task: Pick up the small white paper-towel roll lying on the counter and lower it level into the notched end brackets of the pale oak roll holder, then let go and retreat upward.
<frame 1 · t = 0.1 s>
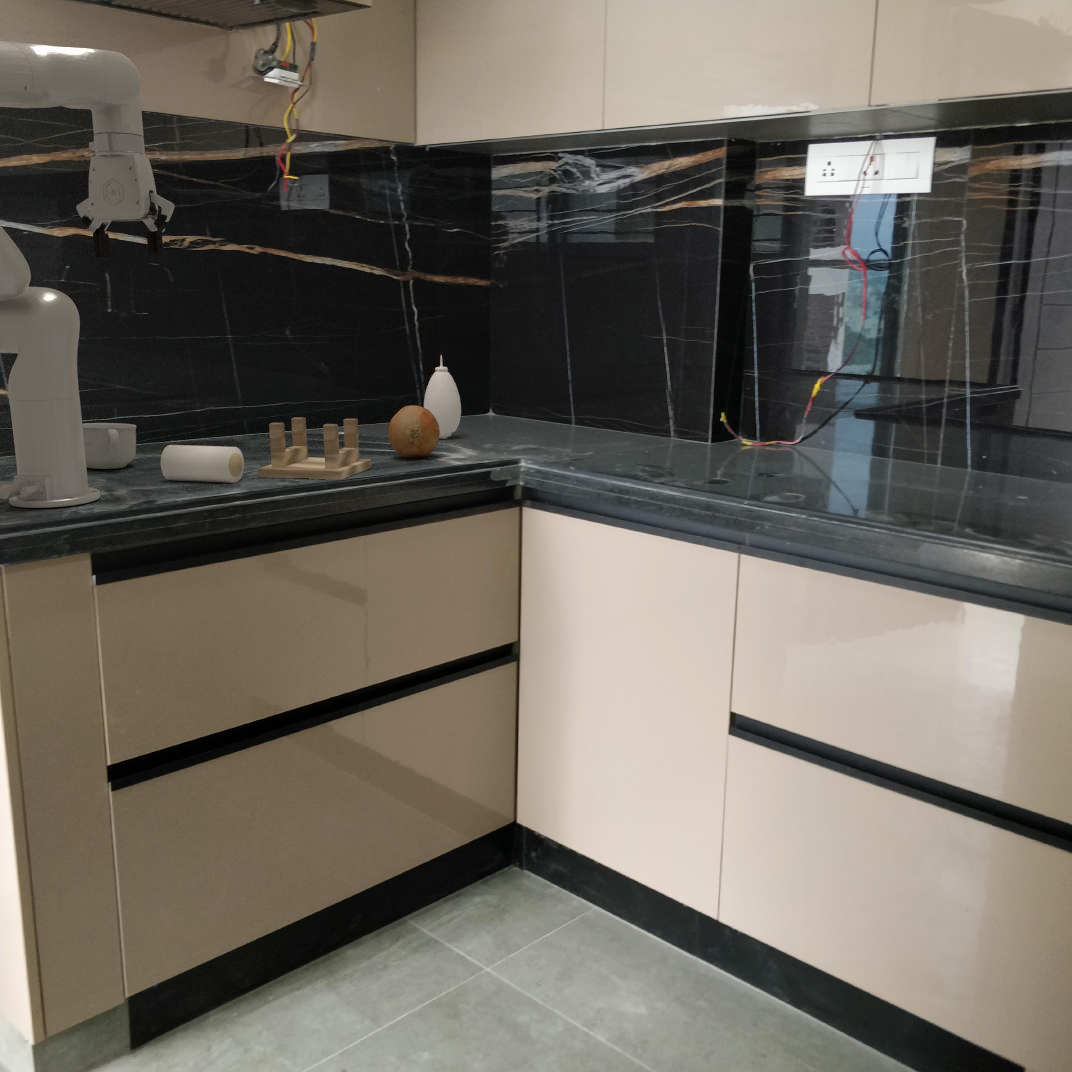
hand: (129, 257, 176), 37 cm above the counter, tool pointing down, fingers open, 9 cm apart
teacup: (108, 469, 193), on the counter
onion: (414, 459, 204), on the counter
roll holder: (316, 472, 188), on the counter
towel roll: (202, 463, 179), point 3 cm above the counter
sauce bottle: (443, 439, 232), on the counter
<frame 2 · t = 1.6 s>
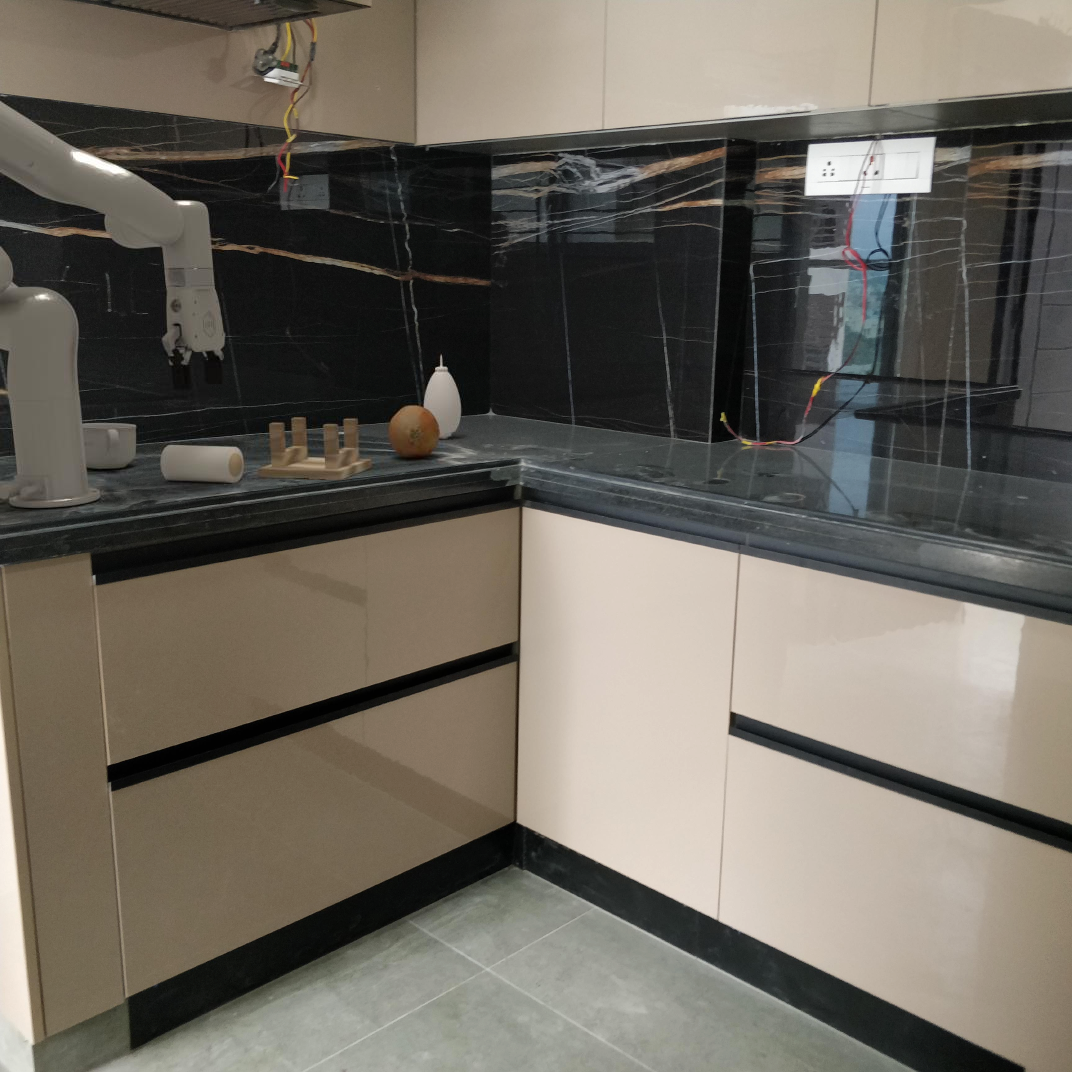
hand: (199, 386, 177), 16 cm above the counter, tool pointing down, fingers open, 9 cm apart
nothing on the counter moved.
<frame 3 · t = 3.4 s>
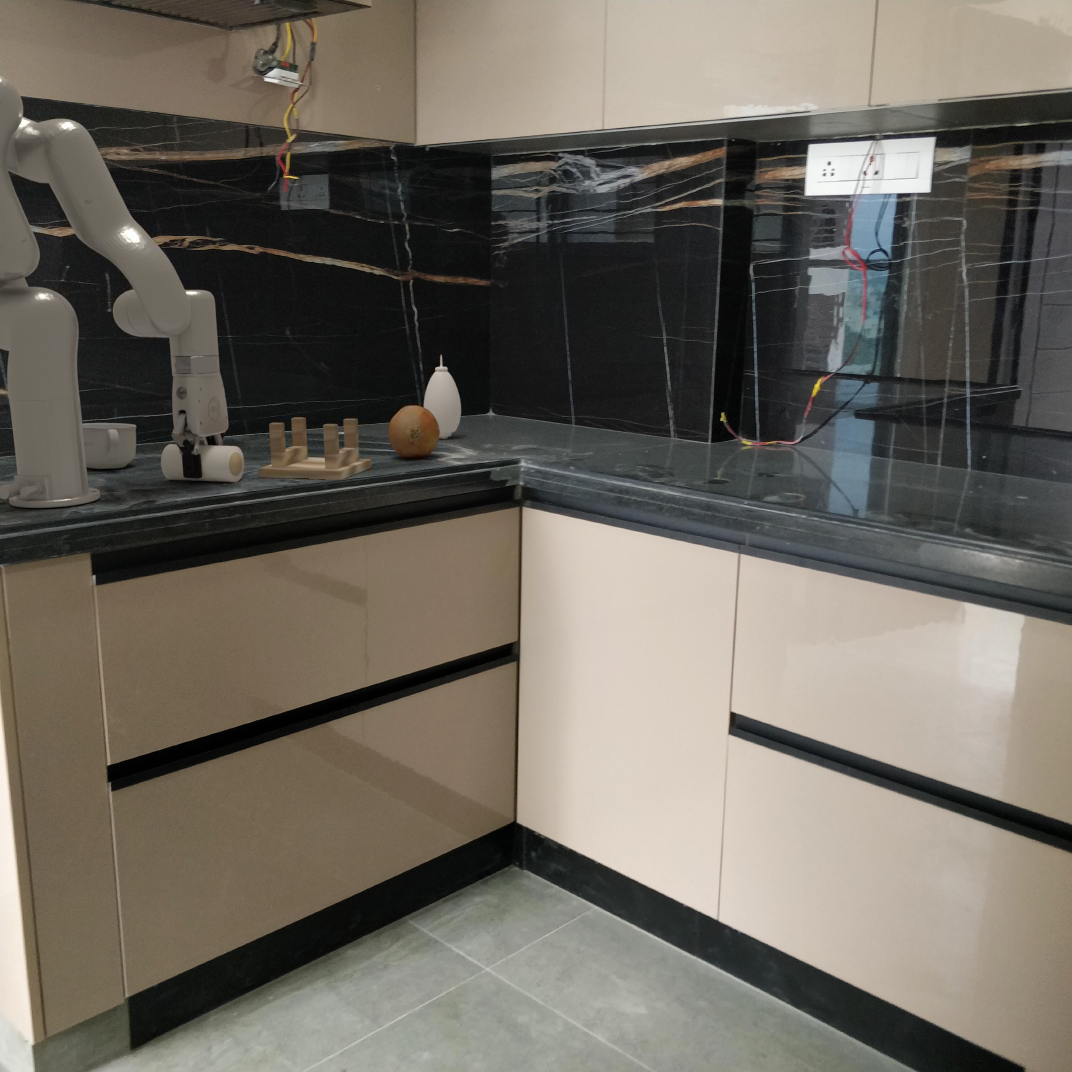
hand: (203, 473, 179), 1 cm above the counter, tool pointing down, fingers closed on towel roll, 6 cm apart
towel roll: (202, 463, 179), point 3 cm above the counter, touching gripper
everything else where it was.
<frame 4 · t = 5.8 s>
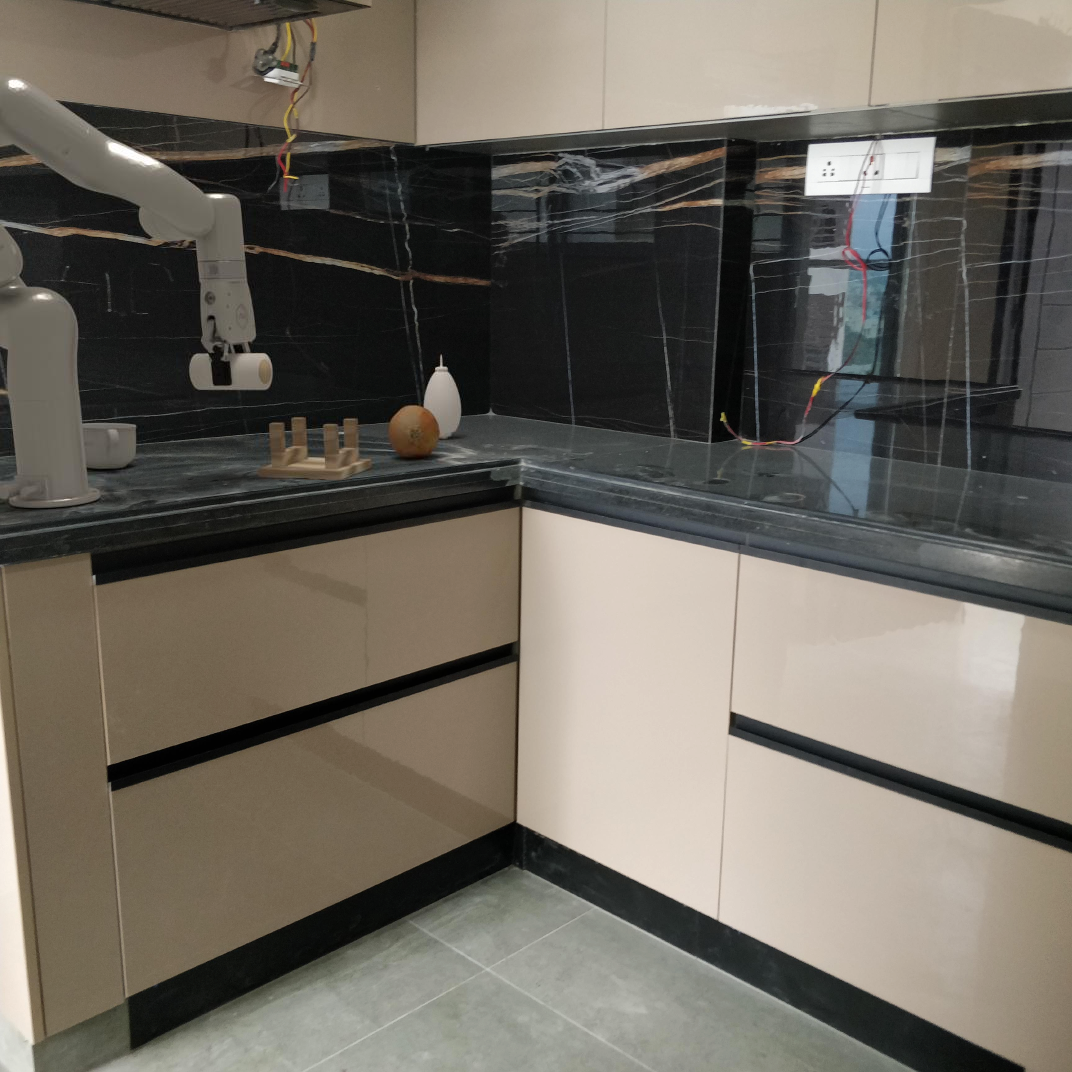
hand: (232, 382, 179), 16 cm above the counter, tool pointing down, fingers closed on towel roll, 6 cm apart
towel roll: (231, 371, 178), point 18 cm above the counter, touching gripper
everything else where it was.
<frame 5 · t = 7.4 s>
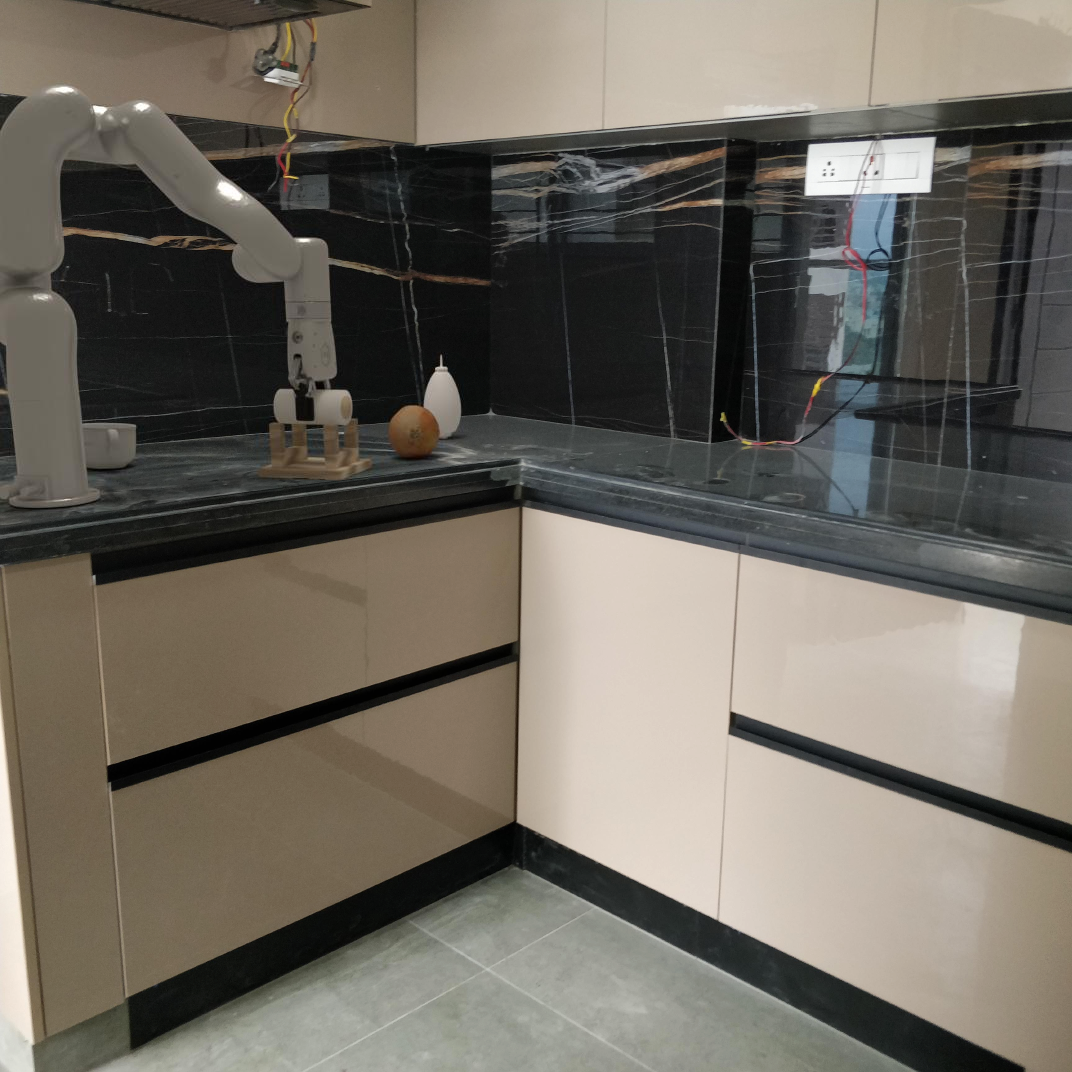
hand: (313, 417, 185), 10 cm above the counter, tool pointing down, fingers closed on towel roll, 6 cm apart
towel roll: (313, 406, 185), point 11 cm above the counter, touching gripper
everything else where it was.
when the fingers open (6 cm above the counter, at t = 8.6 s): towel roll stays where it is, resting on roll holder.
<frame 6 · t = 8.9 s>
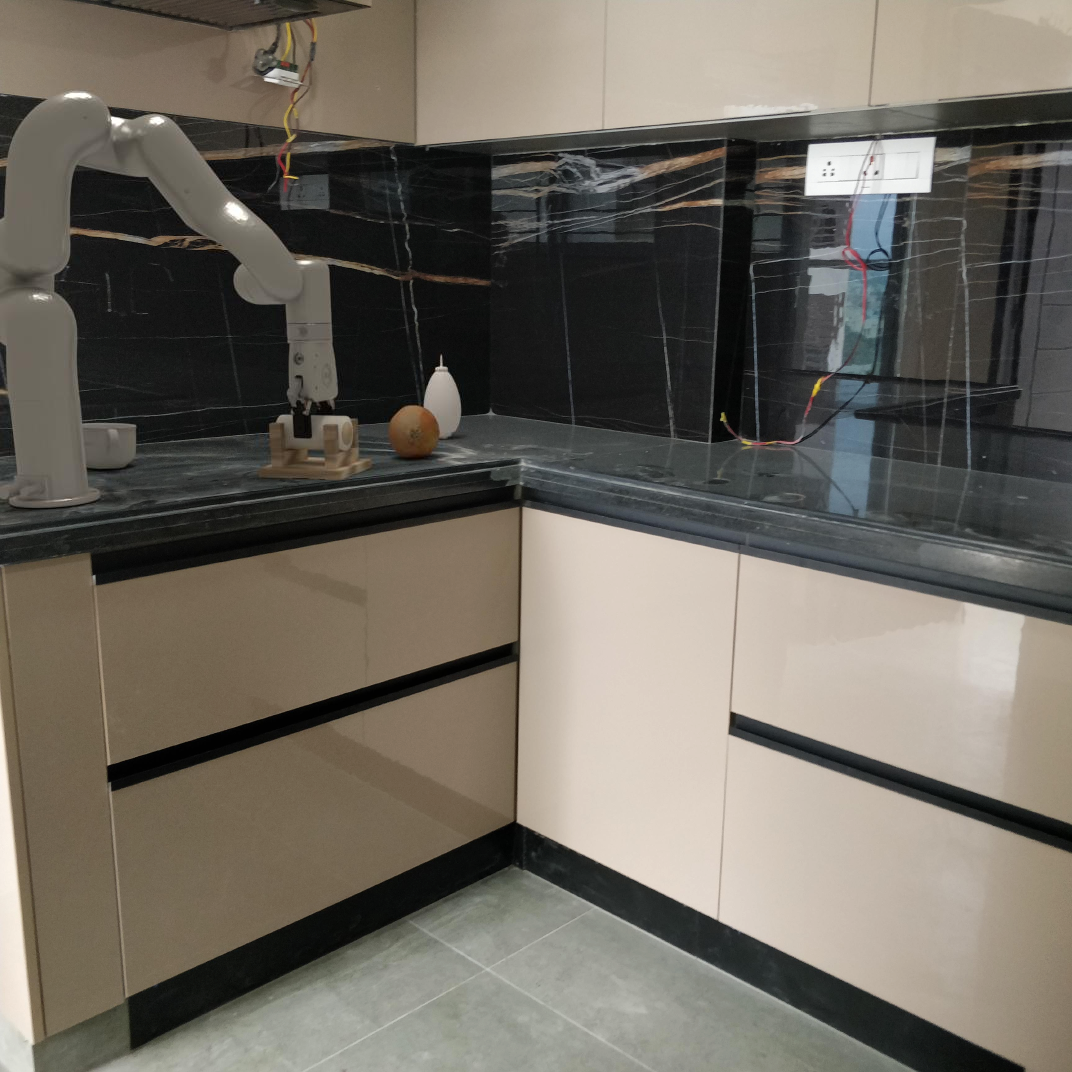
hand: (314, 434, 186), 7 cm above the counter, tool pointing down, fingers open, 8 cm apart
towel roll: (314, 432, 186), point 7 cm above the counter, touching roll holder
everything else where it was.
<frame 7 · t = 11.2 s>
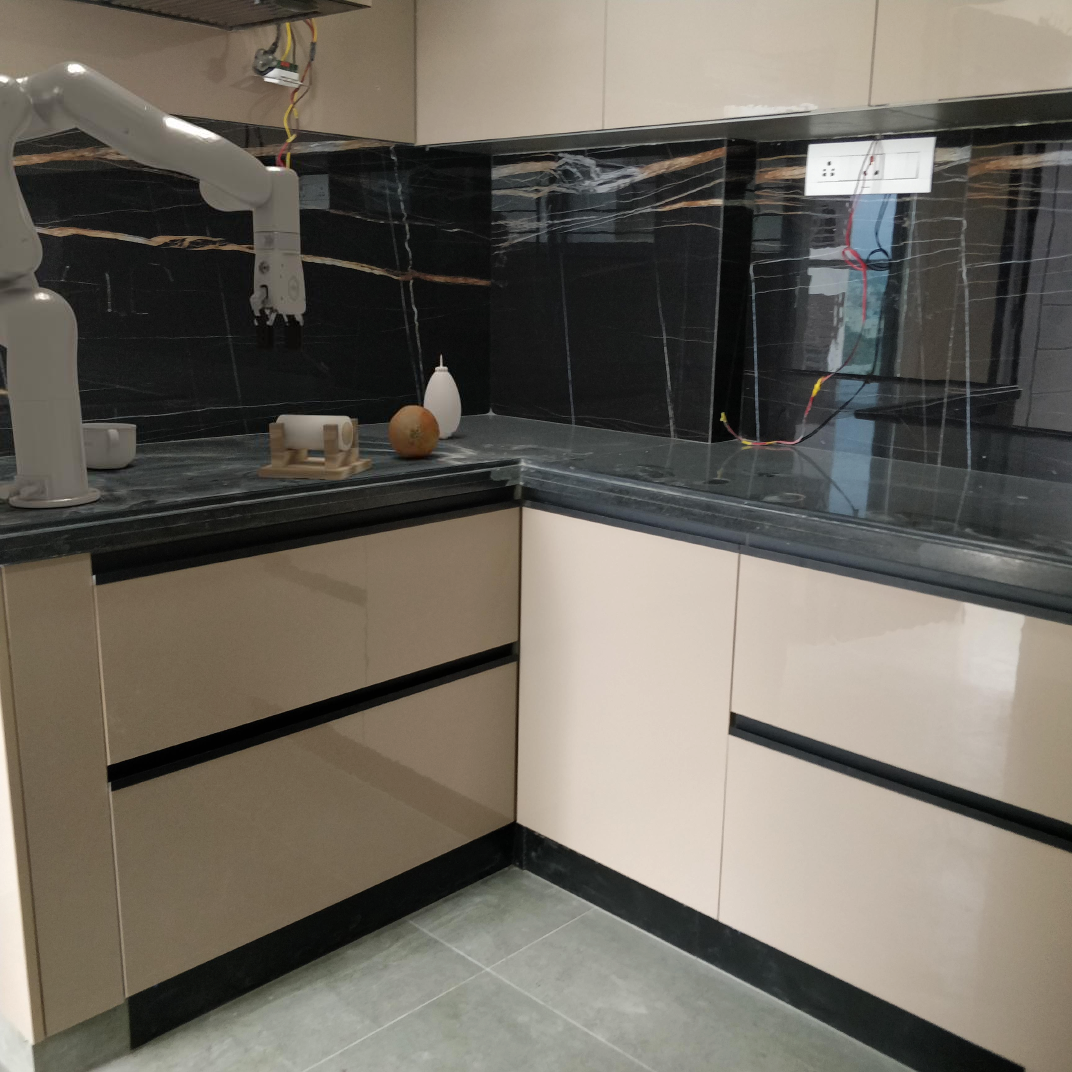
hand: (280, 349, 181), 22 cm above the counter, tool pointing down, fingers open, 9 cm apart
nothing on the counter moved.
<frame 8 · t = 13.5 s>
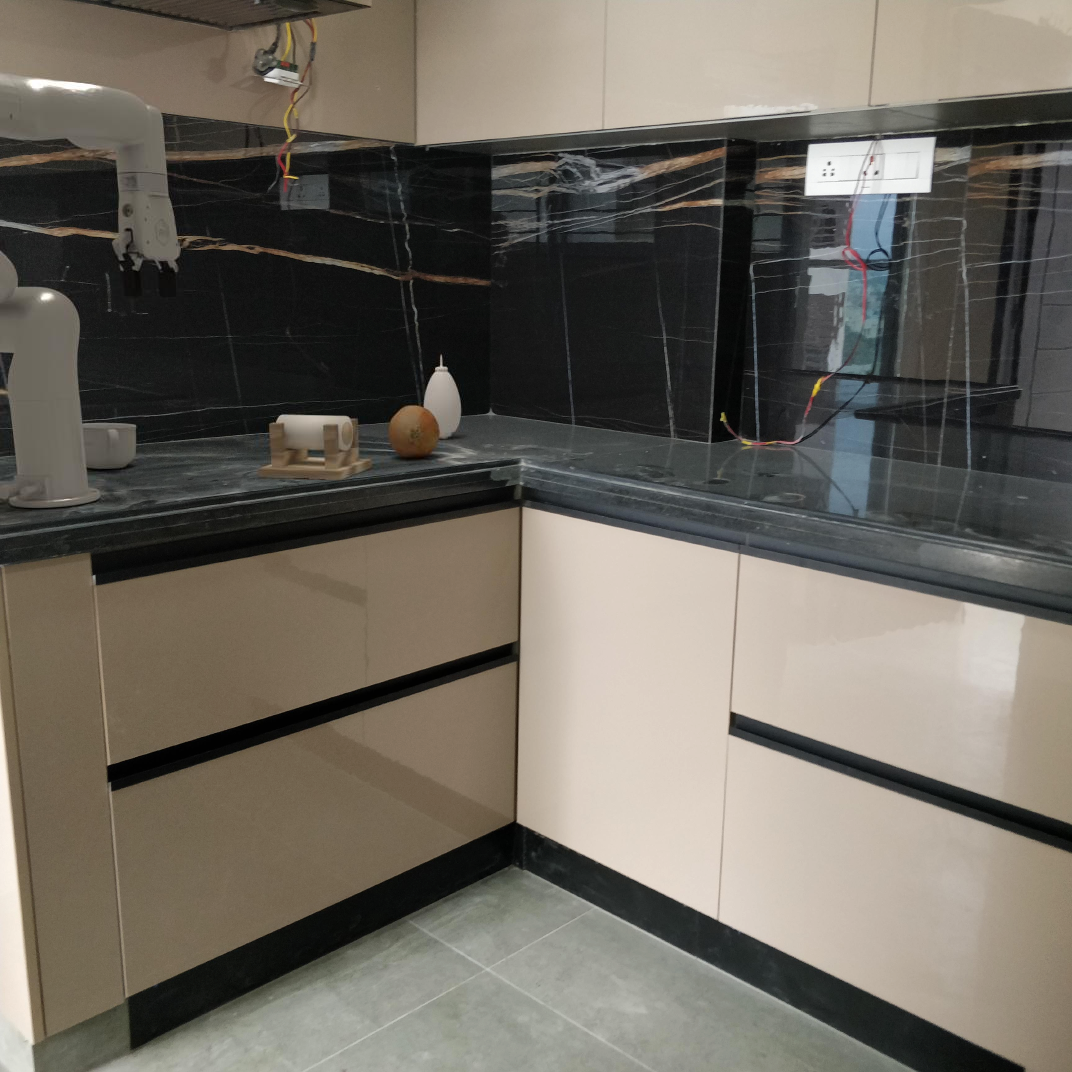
hand: (152, 296, 175), 30 cm above the counter, tool pointing down, fingers open, 9 cm apart
nothing on the counter moved.
at the end: towel roll 0.1 cm off-centre on the roll holder, point 7.0 cm above the roll holder's base; towel roll touching roll holder; the gripper is holding nothing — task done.
